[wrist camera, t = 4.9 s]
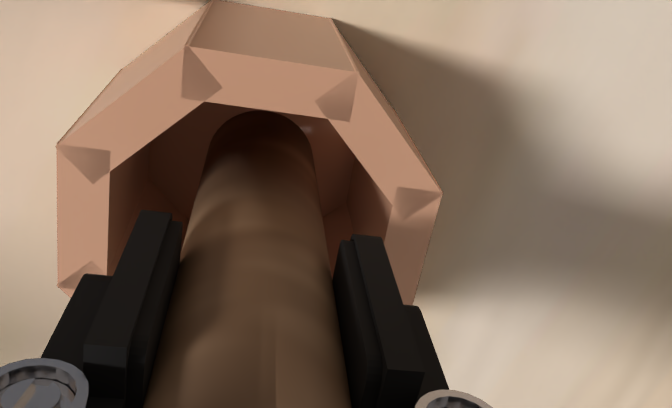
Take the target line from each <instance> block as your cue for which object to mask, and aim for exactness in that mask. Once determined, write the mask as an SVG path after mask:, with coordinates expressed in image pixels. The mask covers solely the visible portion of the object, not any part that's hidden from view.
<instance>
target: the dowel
mask: <svg viewBox="0 0 672 408" xmlns="http://www.w3.org/2000/svg"><path fill="white" fill-rule="evenodd" d="M143 408H352V404H351V398H350V391H349V385H348V378H347V372H346V366H345V359H344V353H343V346H342V340H341V334H340V327H339V321H338V314H337V308H336V301H335V295H334V289H333V282H332V275H331V269H330V262H329V256H328V250H327V243H326V237H325V230H324V224H323V218H322V211H321V205H320V199H319V192H318V186H317V179H316V173H315V167H314V160H313V154H312V149H311V146H310V143H309V141H308V139H307V137H306V135H305V134H304V132H303V131H302V130H301V129H300V127H299V126H298V125H296V124H295V123H294V122H293V121H291V120H290V119H288V118H287V117H285V116H283V115H280V114H277V113H274V112H270V111H261V110H260V111H249V112H245V113H241V114H239V115H236V116H234V117H232V118H231V119H229V120H228V121H226V122H225V123H224V124H223V125H222V126H221V127H220V128H219V129H218V130H217V131H216V133H215V134H214V136H213V138H212V140H211V142H210V145H209V149H208V152H207V156H206V160H205V164H204V167H203V171H202V175H201V179H200V183H199V186H198V190H197V194H196V198H195V202H194V205H193V209H192V213H191V217H190V221H189V224H188V228H187V232H186V236H185V240H184V243H183V247H182V251H181V255H180V265H179V269H178V272H177V276H176V280H175V284H174V288H173V292H172V296H171V299H170V303H169V307H168V311H167V315H166V319H165V323H164V327H163V330H162V334H161V338H160V342H159V346H158V350H157V354H156V358H155V361H154V365H153V369H152V373H151V377H150V381H149V385H148V388H147V392H146V396H145V400H144V404H143Z"/></svg>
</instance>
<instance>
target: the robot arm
mask: <svg viewBox="0 0 672 408" xmlns="http://www.w3.org/2000/svg"><path fill="white" fill-rule="evenodd" d="M182 230H183V222H179V221H172V213H167V212H159V211H150V210H141V211H140V213H139V216H138V218H137V220H136V223H135V225H134V227H133V230H132V232H131V234H130V237H129V239H128V241H127V244H126V246H125V248H124V251H123V253H122V255H121V258H120V260H119V262H118V265H117V267H116V269H115V272H114V274H113V276H108V275H98V274H88V273H86V274H84V275H83V276H82V278H81V280H80V282H79V284H78V285H77V287H76V289H75V291H74V293H73V295H72V297H71V299H70V301H69V303H68V305H67V307H66V309H65V311H64V313H63V315H62V317H61V319H60V321H59V323H58V325H57V327H56V329H55V331H54V333H53V334H52V336H51V338H50V340H49V342H48V344H47V346H46V348H45V350H44V352H43V354H42V356H41V358H36V359H25V360H21V361H17V362H13V363H9V364H7V365H5V366H3V367H0V408H143V404H144V400H145V396H146V392H147V388H148V385H149V381H150V377H151V373H152V369H153V365H154V361H155V358H156V354H157V350H158V346H159V342H160V338H161V334H162V330H163V327H164V323H165V319H166V315H167V311H168V307H169V303H170V299H171V296H172V292H173V288H174V284H175V280H176V276H177V272H178V269H179V265H180V254H181V242H182ZM332 282H333V289H334V295H335V301H336V308H337V314H338V321H339V327H340V334H341V340H342V346H343V353H344V359H345V366H346V372H347V378H348V385H349V391H350V398H351V404H352V408H493V407H491V406H490V405H488V404H487V403H486V402H484V401H483V400H481V399H479V398H477V397H475V396H472V395H470V394H468V393H464V392H460V391H456V390H449V388H448V385H447V382H446V379H445V376H444V374H443V371H442V368H441V365H440V363H439V360H438V357H437V354H436V351H435V349H434V346H433V343H432V340H431V338H430V335H429V332H428V329H427V327H426V324H425V321H424V318H423V315H422V313H421V311H420V309H419V307H417V306H414V305H403V302H402V299H401V295H400V292H399V289H398V286H397V283H396V280H395V277H394V274H393V271H392V268H391V264H390V261H389V258H388V255H387V252H386V249H385V246H384V243H383V240H382V238H381V237H377V236H368V235H360V234H352V236H351V239H350V241H348V240H341V242H340V245H339V249H338V254H337V259H336V264H335V269H334V274H333V279H332Z"/></svg>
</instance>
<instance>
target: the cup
mask: <svg viewBox="0 0 672 408" xmlns="http://www.w3.org/2000/svg"><path fill="white" fill-rule="evenodd" d="M260 110H261V111H270V112H274V113H277V114H280V115H283V116H285V117H287V118H288V119H290V120H291V121H293V122H294V123H295V124H296V125H298V126H299V127H300V129H301V130H302V131H303V132H304V134H305V135H306V137H307V139H308V141H309V143H310V146H311V149H312V154H313V160H314V167H315V173H316V179H317V186H318V192H319V199H320V205H321V211H322V218H323V224H324V230H325V237H326V243H327V250H328V256H329V262H330V269H331V275H332V279H333V274H334V269H335V264H336V259H337V254H338V249H339V245H340V242H341V240H348V241H350V239H351V236H352V234H360V235H368V236H377V237H381V238H382V240H383V243H384V246H385V249H386V252H387V255H388V258H389V261H390V264H391V268H392V271H393V274H394V277H395V280H396V283H397V286H398V289H399V292H400V295H401V299H402V302H403V305H413V301H414V298H415V294H416V290H417V286H418V283H419V279H420V275H421V271H422V268H423V264H424V260H425V257H426V253H427V249H428V245H429V242H430V238H431V234H432V231H433V227H434V223H435V219H436V216H437V212H438V208H439V205H440V201H441V197H442V195H443V194H442V193H443V192H442V190H441V188H440V187H439V185H438V183H437V182H436V180H435V178H434V176H433V175H432V173H431V171H430V170H429V168H428V166H427V165H426V163H425V161H424V159H423V158H422V156H421V154H420V153H419V151H418V149H417V148H416V146H415V144H414V142H413V141H412V139H411V137H410V136H409V134H408V132H407V130H406V129H405V127H404V125H403V124H402V122H401V120H400V119H399V117H398V115H397V113H396V112H395V110H394V108H392V107H391V105H390V104H389V103H388V101H387V100H386V98H385V97H384V95H383V94H382V92H381V91H380V90H379V88H378V87H377V85H376V84H375V82H374V81H373V79H372V78H371V76H370V75H369V74H368V72H367V71H366V69H365V68H364V66H363V65H362V63H361V62H360V61H359V59H358V58H357V56H356V55H355V53H354V52H353V50H352V49H351V47H350V46H349V45H348V43H347V42H346V40H345V39H344V37H343V36H342V34H341V33H340V32H339V30H338V29H337V27H336V26H335V24H334V22H333V20H332V19H331V18H323V17H317V16H311V15H305V14H299V13H293V12H287V11H281V10H275V9H269V8H263V7H257V6H251V5H245V4H239V3H233V2H227V1H221V0H210V1H209V2H208V3H207V4H206V5H204V6H203V7H202V8H200V9H199V10H198V11H197V12H195V13H194V14H193V15H191V16H190V17H189V18H188V19H186V20H185V21H184V22H182V23H181V24H180V25H179V26H177V27H176V28H175V29H173V30H172V31H171V32H170V33H168V34H167V35H166V36H164V37H163V38H162V39H161V40H159V41H158V42H157V43H155V44H154V45H153V46H152V47H150V48H149V49H148V50H146V51H145V52H144V53H143V54H141V55H140V56H139V57H137V58H136V59H135V60H134V61H132V62H131V63H130V64H128V65H127V66H126V67H125V68H123V69H121V70H120V71H119V72H118V73H117V74H116V76H115V77H114V78H113V79H112V80H111V81H110V83H109V84H108V85H107V86H106V87H105V88H104V90H103V91H102V92H101V93H100V94H99V95H98V96H97V98H96V99H95V100H94V101H93V102H92V103H91V105H90V106H89V107H88V108H87V109H86V110H85V112H84V113H83V114H82V115H81V116H80V117H79V118H78V120H77V121H76V122H75V123H74V124H73V125H72V127H71V128H70V129H69V130H68V131H67V132H66V134H65V135H64V136H63V137H62V138H61V139H60V140H59V142H58V143H57V145H56V146H55V147H56V148H57V250H58V284H57V286H58V288H60V289H61V290H62V291H64V292H65V293H66V294H67V295H68V296H69V297H70V298H71V297H72V295H73V293H74V291H75V289H76V287H77V285H78V284H79V282H80V280H81V278H82V276H83V275H84V274H86V273H88V274H98V275H108V276H113V274H114V272H115V269H116V267H117V265H118V262H119V260H120V258H121V255H122V253H123V251H124V248H125V246H126V244H127V241H128V239H129V237H130V234H131V232H132V230H133V227H134V225H135V223H136V220H137V218H138V216H139V213H140V211H141V210H150V211H159V212H167V213H172V221H179V222H183V230H182V242H181V251H182V247H183V243H184V240H185V236H186V232H187V228H188V224H189V221H190V217H191V213H192V209H193V205H194V202H195V198H196V194H197V190H198V186H199V183H200V179H201V175H202V171H203V167H204V164H205V160H206V156H207V152H208V149H209V145H210V142H211V140H212V138H213V136H214V134H215V133H216V131H217V130H218V129H219V128H220V127H221V126H222V125H223V124H224V123H225V122H226V121H228V120H229V119H231V118H232V117H234V116H236V115H239V114H241V113H245V112H249V111H260ZM180 255H181V254H180Z"/></svg>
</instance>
